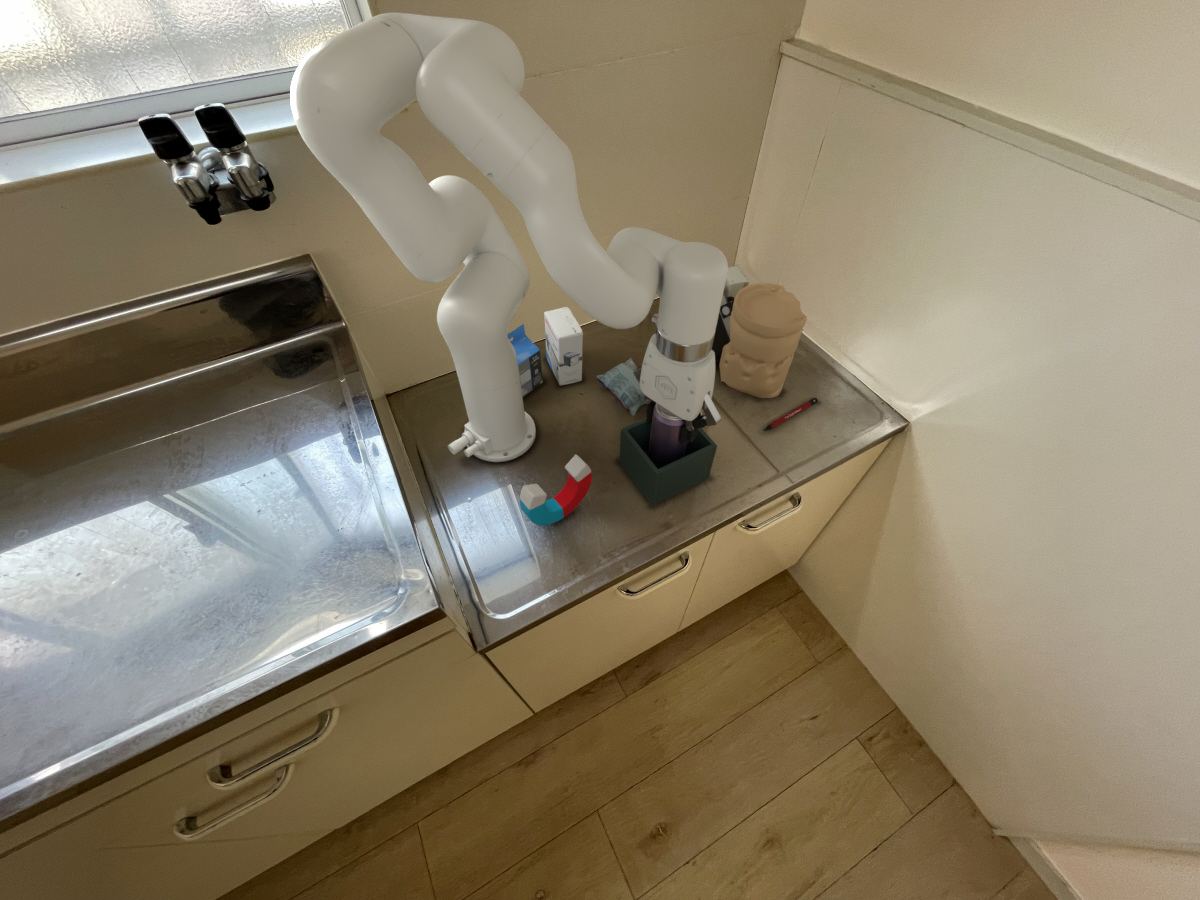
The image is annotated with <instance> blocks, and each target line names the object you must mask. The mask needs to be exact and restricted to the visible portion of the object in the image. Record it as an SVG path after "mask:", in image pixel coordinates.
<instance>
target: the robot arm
mask: <svg viewBox="0 0 1200 900" xmlns="http://www.w3.org/2000/svg"><path fill="white" fill-rule="evenodd" d="M525 78H526V70H525V63H524V59H523V56H522V54H521V52H520V50H519V48H518V45H516V43H515V42H514V40H513V39H511V37H510V36H509V35H508V34H507V33H506V32H504V31H503V30H502V29H500V28H499V27H497V26H495V25H493V24H491V23H487V22H485V21H482V20H476V19H468V18H459V17H449V16H435V15H426V14H417V13H410V12H409V13H406V12H384V13H379V14H377V15H374V16H372V17H370V18H367V19H365V20H363V21H361V22H360V23H358V24H356V25H354V26H352V27H350V28H348V29H345V30H344V31H342V32H340V33H338V34H335V35H334V36H332V37H330V38H328V39H326V40H325V41H323V42H322V43H320V44H318V46H316V47H315V48H314V49H312V50H311V51H310V52H309V53H308V54H306V56H305V57H304V58H303V59H302V60H301V62H300V63H299V64H298V66H297V68H296V70H295V71H294V74H293V76H292V80H291V83H290V92H289V98H290V99H289V100H290V101H289V102H290V109H291V113H292V117H293V121H294V123H295V126H296V129H297V131H298V133H299V135H300V137H301V138H302V140H303V142H304V143H305V145H306V147H307V148H308V150H309V151H310V152H311V153H312V154H313V156H314V157H315V158H316V159H317V161H319V163H320V164H321V165H322V166H323V167H324V168H325V169H326V170H327V172H328V173H330V175H332V177H333V178H335V179H336V181H337V182H338V183H340V185H341V186H342V187H343V188H344V189H345V190H346V191H347V193H349V194H350V196H351V197H352V199H353V200H354V201H355V202H356V204H358V206H359V208H360V209H361V210H362V212H363V213H364V215H365V216H366V217H367V218H368V220H369V221H370V223H371V224H372V225H373V227H374V228H375V229H376V230H377V231H378V233H379V235H380V236H381V237H382V238H383V240H384V241H385V242H386V243H387V245H388V246H389V248H390V249H391V250H392V252H393V253H394V254H395V256H397V259H399V260H400V262H401V263H402V265H404V266H405V268H406V270H408V271H409V272H410V273H411V274H412V275H413V276H414V277H415V278H417V279H418V280H420V281H422V282H424V283H427V284H438V283H442V282H443V281H445V280H448V279H449V278H450V277H451V276H452V275H453V274H454V273H455V272H456V271H457V270H458V269H459V268H460V266H461V265H462V264H464V267H463V268H462V269H461V271H460V272H459V273H458V274H457V276H456V277H455V278H454V279H453V281H452V282H451V284H450V285H449V286H448V288H446V291H445V292H444V293H443V296H442V297H441V299H440V301H439V304H438V307H437V311H436V323H437V326H438V329H439V332H440V334H441V336H442V338H443V339H444V341H445V344H446V345H447V347H448V350H449V352H450V355H451V358H452V361H453V364H454V368H455V371H456V375H457V378H458V383H459V387H460V390H461V393H462V394H461V395H462V399H463V402H464V403H463V404H464V405H465V406H464V407H465V411H466V415H467V419H468V421H467V423H465V424H464V431H463V432H462V433H461V436H460V437H459V438H458V439H454V440H453V441H452V442H450V443H449V444H448V445H447V449H448V451H449V452H450V453H451V454H452V455H454V456H455V455H457V454H458V453H460V452H461V451H462V450H463V454H464V455H465V456H466V457H467V458H470V457H471V456H474V457H475V458H477V459H480V460H482V461H486V462H492V463H500V462H501V463H502V462H508V461H512V460H515V459H516V458H518V457H520V456H522V455H524V454H525V453H527V452H528V450H529V449H530V448H531V447H532V446H533V444H534V442H535V439H536V435H537V430H536V424H535V421H534V419H533V417H532V416H531V415H530V414H529V413H527V411H525V406H524V405H525V404H524V397H522V390H521V382H520V375H519V368H518V362H517V356H516V352H515V349H514V347H513V345H512V343H511V342H510V341H511V340H510V339H508V332H509V328H510V324H511V322H512V321H513V319H514V317H515V315H516V313H517V311H518V309H519V308H520V306H521V304H522V303H523V300H524V299H525V297H526V296H527V294H528V292H529V289H530V285H531V275H530V270H529V267H528V265H527V262H526V260H525V258H524V256H523V255H522V253H521V251H520V250H519V247H518V246H517V244H516V243H515V241H514V239H513V238H512V236H511V234H510V233H509V231H508V230H507V228H506V227H505V224H504V222H503V221H502V220H501V218H500V217H499V214H498V213H497V211H496V209H495V208H494V206H493V205H492V203H491V202H490V200H489V199H488V198H487V197H486V195H485V194H484V193H483V192H482V191H481V190H480V189H479V188H478V187H477V186H476V185H474V183H472V182H470V180H468V179H465V178H463V177H460V176H458V175H453V174H451V175H450V174H448V175H447V174H445V175H441V176H438V177H436V178H434V179H433V180H431V181H429V183H428V181H427V180H426V178H425V177H424V175H423V174H422V172H421V171H420V169H419V167H418V166H417V164H416V162H415V161H414V160H413V159H412V158H411V157H410V155H409V154H408V153H406V152H405V150H404V149H402V148H401V147H400V146H399V145H398V144H396V143H395V142H393V141H392V140H391V139H389V138H387V137H386V136H383V135H382V134H381V129H382V127H384V125H385V124H387V123H388V122H390V120H391V119H394V117H396V116H397V115H399V114H400V113H401V112H402V111H404V110H406V108H408V107H409V106H410V105H411V104H412V103H414V102H415V101H417V103H418V106H419V108H420V111H421V112H422V113H423V115H424V116H425V118H426V119H427V120H428V121H429V123H430V124H431V125H432V126H434V128H435V129H436V130H437V131H438V132H439V133H440V134H441V135H442V136H443V137H444V138H445V139H446V140H447V141H448V142H450V143H451V144H452V146H454V147H455V149H457V151H459V152H460V154H462V155H463V156H464V157H465V159H467V160H468V161H469V162H470V163H471V164H472V165H473V166H474V167H475V168H476V169H477V170H478V171H479V172H480V173H481V174H483V176H484V177H485V178H486V179H487V180H488V181H490V182H491V183H492V184H493V185H494V187H496V188H497V190H499V192H500V193H502V195H503V196H504V197H506V199H508V200H509V202H511V204H513V205H514V206H515V207H516V209H517V210H518V211H519V213H520V215H521V217H522V220H523V222H524V225H525V228H526V230H527V233H528V235H529V238H530V240H531V243H532V245H533V246H534V249H535V250H536V253H537V255H538V256H539V258H540V260H541V262H542V264H543V266H544V268H545V270H546V271H547V273H548V275H549V276H550V277H551V279H552V280H553V282H555V284H556V285H557V286H558V287H559V289H560V290H561V291H562V292H563V293H564V294H565V295H566V296H568V297H569V298H570V299H571V300H572V301H573V302H574V303H575V304H576V305H577V306H578V307H579V308H581V310H583V311H584V312H585V313H586V314H587V315H589V316H590V317H591V318H593V320H595V321H597V322H598V323H599V324H601V325H604V326H605V327H608V328H611V329H614V330H615V329H616V330H628V329H631V328H634V327H636V326H638V325H639V324H640V323H642V322H643V321H644V320H645V319H646V318H647V316H648V314H649V313H650V310H651V308H652V305H653V304H654V301H655V298H656V295H658V298H659V302H658V303H659V304H658V313H654V315H652V317H651V321H650V322H651V323H652V324H654V326H655V327H656V329H655V333H653V334H652V335H651V337H650V339H649V342H648V344H647V347H646V349H645V353H644V356H643V359H642V360H643V361H642V364H641V365H640V366H637V367H638V368H637V369H636V370H634V371H633V374H634V375H635V377H636V379H637V381H638V382H640V389H641V391H642V392H643V393H644V395H645V397H644V401H645V402H646V412H645V413H646V415H645V416H646V417H645V419H646V422H647V423H648V424H651V423H652V417H653V409H654V406H655V404H656V403H658V404H659V405H661V406H662V407H664V408H666V409H667V410H669V411H670V412H672V413H673V414H675V415H677V416H678V417H680V418H682V419H684V420H685V424H686V425H685V426H684V427H683V428H682V432H681V437H680V445H681V446H685V445H686V444H687V443H688V442H689V441H690V442H692V441H693V440H694V439H695V438H696V436H697V432H698V428H702V429H703V428H705V427H712V426H713V427H714V426H717V425H718V424H719V423H720V422H721V421H722V417H721V415H720V413H719V411H718V409H717V407H716V405H715V403H714V401H713V395H714V388H715V381H716V378H715V377H716V362H715V353H714V351H713V350H712V345H713V340H714V335H715V330H716V326H717V321H718V316H719V311H720V306H721V302H722V297H723V292H724V287H725V282H726V278H727V271H728V267H729V263H728V260H727V257H726V255H725V254H724V252H723V251H722V250H720V249H719V248H718V247H716V246H715V245H712V244H710V243H707V242H703V241H702V242H701V241H686V242H685V241H682V240H679V239H676V238H673V237H670V236H667V235H665V234H662V233H660V232H657V231H654V230H652V229H649V228H645V227H641V226H628V227H625V228H623V229H621V230H620V231H618V232H617V233H616V234H615V235H614V236H613V237H612V239H611V241H610V243H609V244H608V246H607V248H606V250H605V249H604V248H603V246H602V245H601V243H599V241H598V239H596V237H595V236H594V234H593V233H592V230H591V229H590V228H589V225H588V223H587V221H586V219H585V216H584V213H583V211H582V207H581V206H582V205H581V203H580V198H579V194H578V193H579V192H578V181H577V172H576V165H575V160H574V156H573V154H572V151H571V149H570V148H569V146H568V145H567V144H566V143H565V142H564V141H563V140H562V139H561V137H559V136H558V135H557V133H555V131H554V130H553V129H552V128H551V127H550V125H548V124H547V122H545V120H544V119H543V118H542V117H541V116H540V115H539V114H538V113H537V112H536V111H535V109H534V108H532V107H531V105H530V104H529V103H528V102H527V101H526V100H525V99H524V97H523V96H522V95H521V93H522V91H523V88H524V85H525V80H526V79H525ZM703 412H704V413H703ZM465 447H466V449H464V448H465Z"/></svg>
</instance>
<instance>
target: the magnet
mask: <svg viewBox="0 0 1200 900" xmlns="http://www.w3.org/2000/svg"><path fill="white" fill-rule="evenodd" d="M564 469H565V470H566V471H567V475H568V476H567V480H566V482H565V484H564V486H563V487H562V489H561V490H560V491H559V492H558V493H557V494H556V495H554V496H553V497H551V498H550V499H547V496H548V494H547V493H546V492H545V491H544V489H542V488H541V486H540V485H539V484H538V483H530V484H524V485H523V486H522V488H521V491H520V494H519V506H520V509H521V511H522V512H523V513H524V515H526V517H527V518H528V519H529V520H530V521H531V522H532V524H534V525H536V526H543V527H544V526H548V525H551V524H554V523H557V522H559V521H561V520H562V519H564V518H565V517H567V516H568V515H569V514H571V513H572V512H573V511H574V510H575V509H577V507H578V506H579V505H580V504H581V502H582V501H583V500H584V499H585V497H586V495H587V494H588V492H589V490H590V488H591V486H592V482H593V473H592V469H591V467H590V466H589V465H588V464H587V463H586V461H584V460H583V459H582V458H581V457H580V456H579V455H578V454H574V455H573V457H571V459H570V460H569V461H568V462H567V463H566V465H564ZM546 499H547V500H546Z"/></svg>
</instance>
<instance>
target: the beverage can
mask: <svg viewBox="0 0 1200 900" xmlns="http://www.w3.org/2000/svg"><path fill="white" fill-rule="evenodd" d="M685 425H686V424H685V420H684V419H682V418H680V417H678V416H677V415H675V414H673V413H672V412H670V411H669V410H667V409H666V408H664V407H662V406H661V405H659V404H658V403H656V404H655V406H654V409H653V417H652V425H651V433H650V441H649V449H648V457H649V459H650V460H651V461H652V462H653V464H654V465H655V466H656V467H657V469H659V468H662V467H664V466H666V465H668V464H670V463H672V462H674V461H677V460H679V459H681V458H683V457H684V456H685V451H686V446H687V444H686V445H685V446H681V445H680V437H681V432H682V428H683V427H684V426H685Z"/></svg>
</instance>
